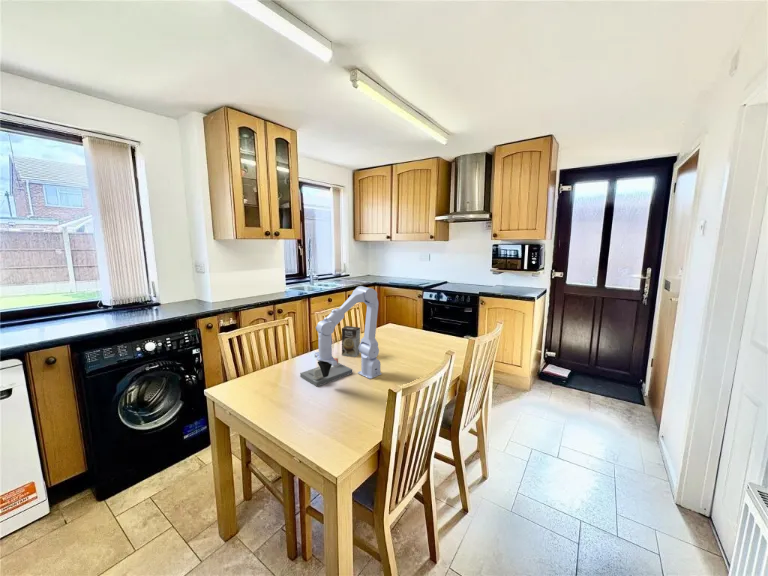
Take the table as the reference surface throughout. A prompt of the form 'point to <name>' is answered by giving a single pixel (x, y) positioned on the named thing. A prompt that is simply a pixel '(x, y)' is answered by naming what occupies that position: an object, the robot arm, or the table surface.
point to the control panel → (334, 374)
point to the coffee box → (350, 341)
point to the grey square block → (317, 374)
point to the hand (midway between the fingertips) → (325, 376)
